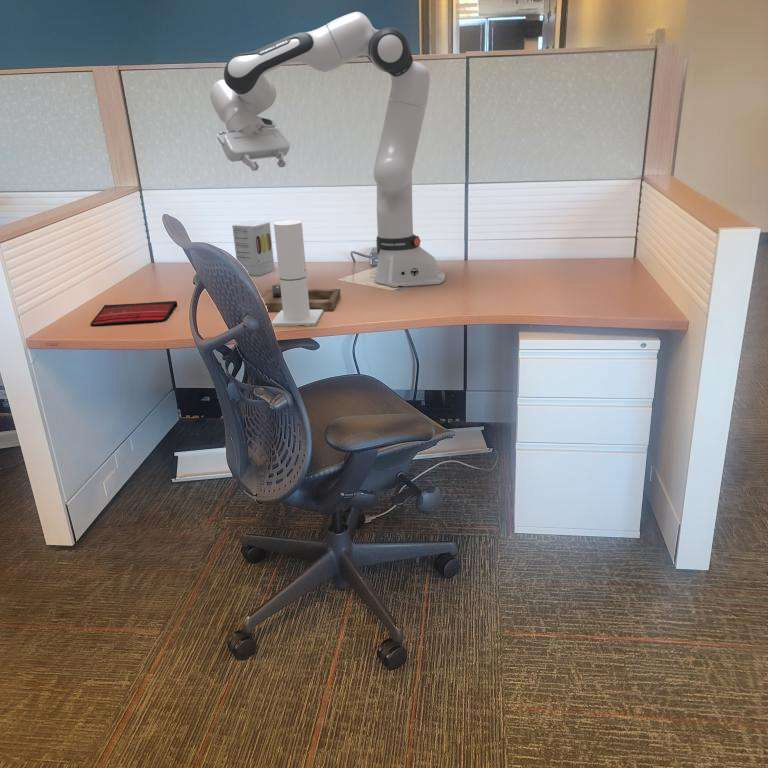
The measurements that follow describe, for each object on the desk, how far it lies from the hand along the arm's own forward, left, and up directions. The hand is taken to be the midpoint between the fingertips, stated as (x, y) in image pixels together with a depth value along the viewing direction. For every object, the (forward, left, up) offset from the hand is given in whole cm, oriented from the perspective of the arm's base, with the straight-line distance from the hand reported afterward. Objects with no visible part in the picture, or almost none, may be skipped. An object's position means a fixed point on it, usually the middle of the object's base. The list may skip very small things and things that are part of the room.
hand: (269, 167), depth 190 cm
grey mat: (-10, +23, -37) cm, 45 cm away
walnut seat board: (-7, +9, -37) cm, 39 cm away
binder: (+39, +18, -38) cm, 57 cm away
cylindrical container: (-9, +23, -37) cm, 44 cm away
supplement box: (+16, -31, -38) cm, 51 cm away
